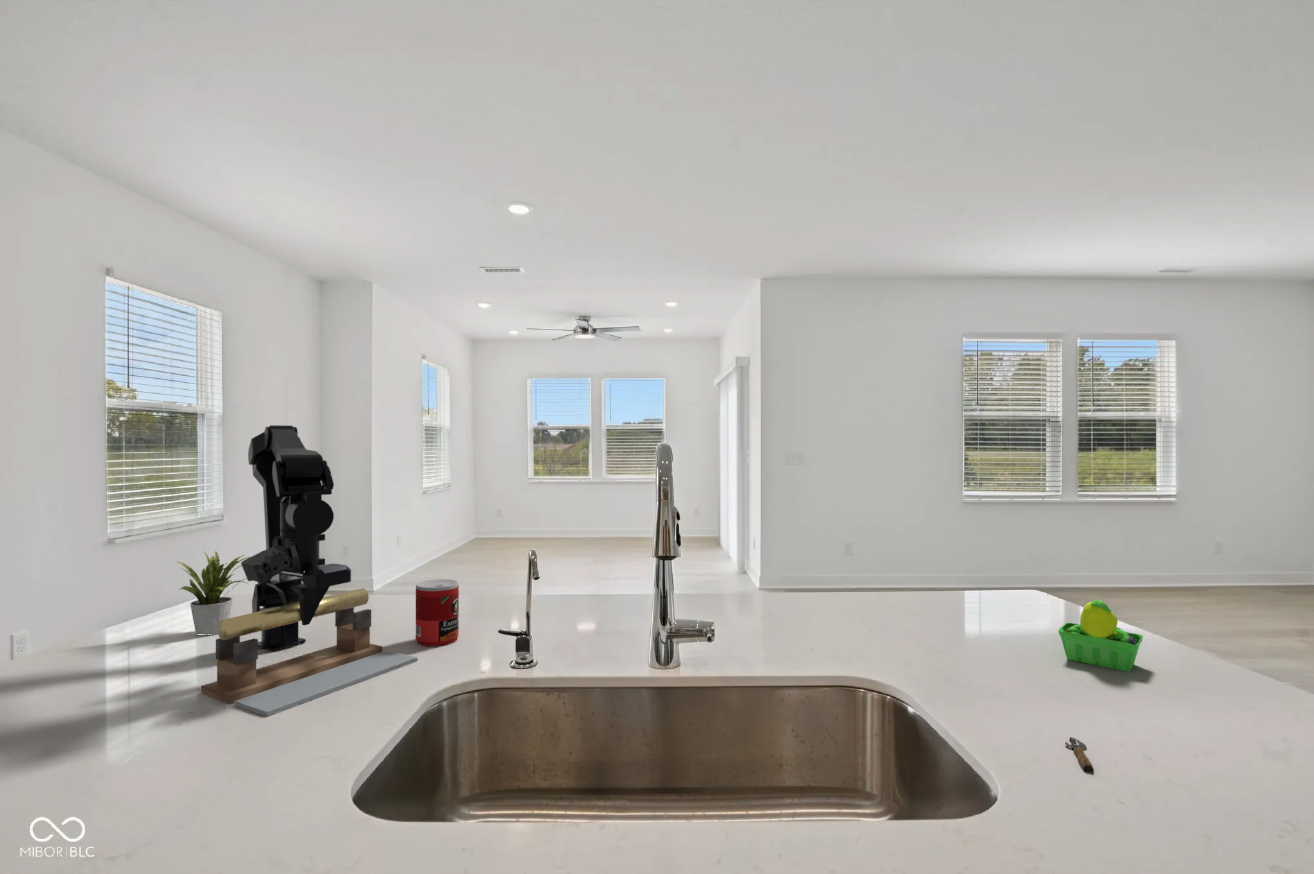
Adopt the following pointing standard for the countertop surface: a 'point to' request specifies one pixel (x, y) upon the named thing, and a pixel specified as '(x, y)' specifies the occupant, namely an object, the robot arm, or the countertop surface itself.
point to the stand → (245, 680)
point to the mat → (323, 683)
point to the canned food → (437, 612)
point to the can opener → (1081, 755)
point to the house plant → (211, 594)
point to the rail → (287, 614)
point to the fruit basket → (1100, 639)
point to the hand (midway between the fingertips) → (299, 623)
